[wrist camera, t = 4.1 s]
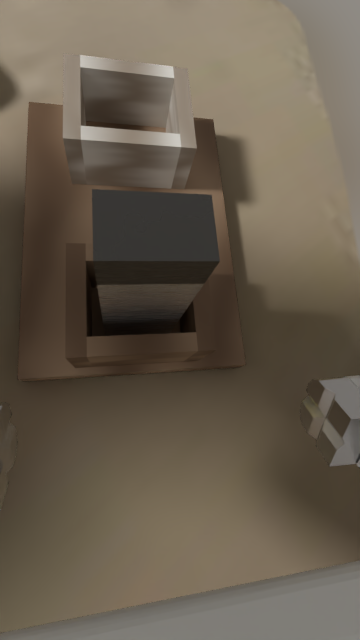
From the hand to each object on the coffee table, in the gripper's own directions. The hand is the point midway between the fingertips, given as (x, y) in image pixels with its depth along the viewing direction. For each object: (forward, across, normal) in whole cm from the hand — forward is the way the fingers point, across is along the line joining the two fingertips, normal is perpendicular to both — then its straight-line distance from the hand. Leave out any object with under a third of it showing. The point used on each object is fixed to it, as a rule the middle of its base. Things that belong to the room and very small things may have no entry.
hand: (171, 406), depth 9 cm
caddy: (+18, 0, 0) cm, 18 cm away
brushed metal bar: (+12, 0, +4) cm, 13 cm away
